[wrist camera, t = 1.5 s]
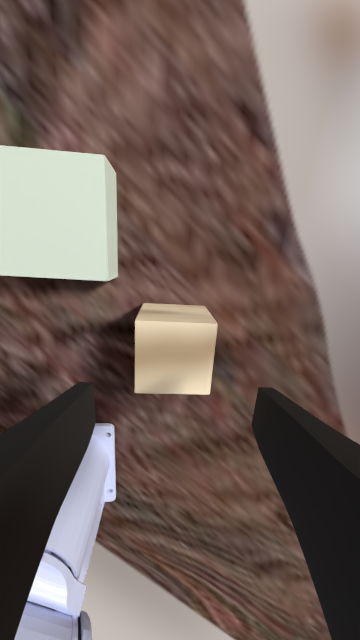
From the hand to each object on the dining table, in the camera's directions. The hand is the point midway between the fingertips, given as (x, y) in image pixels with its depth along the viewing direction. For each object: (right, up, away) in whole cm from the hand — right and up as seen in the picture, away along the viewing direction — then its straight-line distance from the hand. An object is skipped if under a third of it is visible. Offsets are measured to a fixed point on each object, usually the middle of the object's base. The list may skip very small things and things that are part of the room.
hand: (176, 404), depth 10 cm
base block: (-8, +11, +6) cm, 15 cm away
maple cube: (0, +3, +9) cm, 10 cm away
